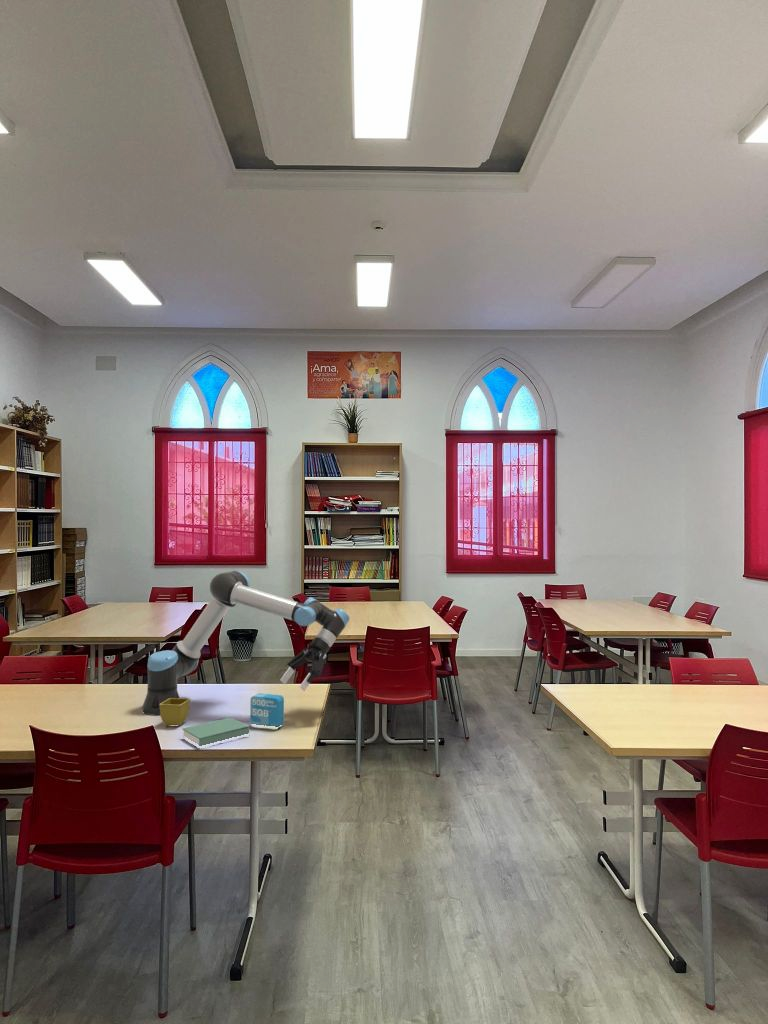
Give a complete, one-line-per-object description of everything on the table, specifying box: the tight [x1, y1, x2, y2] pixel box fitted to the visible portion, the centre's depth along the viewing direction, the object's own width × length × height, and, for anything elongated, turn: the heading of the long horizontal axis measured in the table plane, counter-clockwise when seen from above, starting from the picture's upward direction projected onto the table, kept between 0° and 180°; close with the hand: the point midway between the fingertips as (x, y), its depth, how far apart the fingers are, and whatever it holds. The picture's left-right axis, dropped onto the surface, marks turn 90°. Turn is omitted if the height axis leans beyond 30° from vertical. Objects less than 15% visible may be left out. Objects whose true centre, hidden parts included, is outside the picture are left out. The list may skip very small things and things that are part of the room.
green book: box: [182, 717, 250, 746], centre depth 218 cm, size 14×19×4 cm
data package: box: [249, 692, 285, 727], centre depth 230 cm, size 12×4×12 cm, turn 73°
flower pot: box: [159, 698, 191, 726], centre depth 233 cm, size 9×9×9 cm
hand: (291, 685), depth 238 cm, fingers open, 13 cm apart
